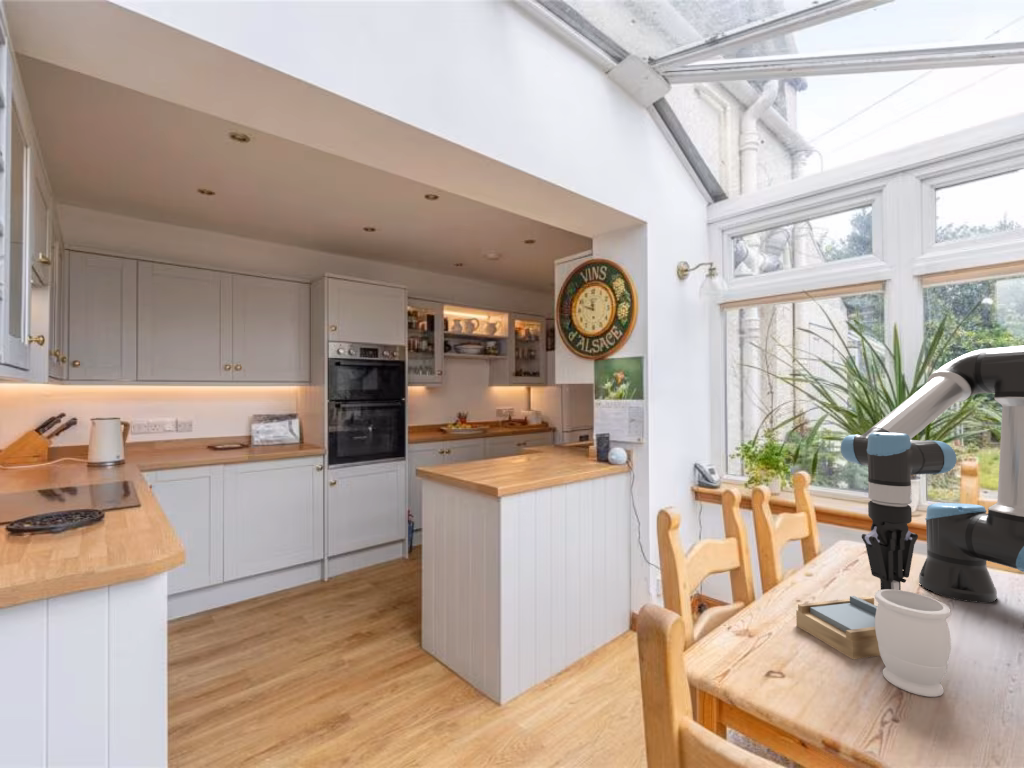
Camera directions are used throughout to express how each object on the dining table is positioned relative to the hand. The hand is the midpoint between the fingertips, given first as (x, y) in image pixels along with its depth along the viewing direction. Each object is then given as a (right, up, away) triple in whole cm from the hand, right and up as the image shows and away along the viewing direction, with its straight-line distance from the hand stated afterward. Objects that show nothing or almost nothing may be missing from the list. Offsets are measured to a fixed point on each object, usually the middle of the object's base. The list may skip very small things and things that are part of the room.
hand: (890, 609), depth 104 cm
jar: (-11, -5, -18) cm, 22 cm away
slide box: (-8, -5, -2) cm, 9 cm away
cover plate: (-10, -1, -2) cm, 10 cm away
